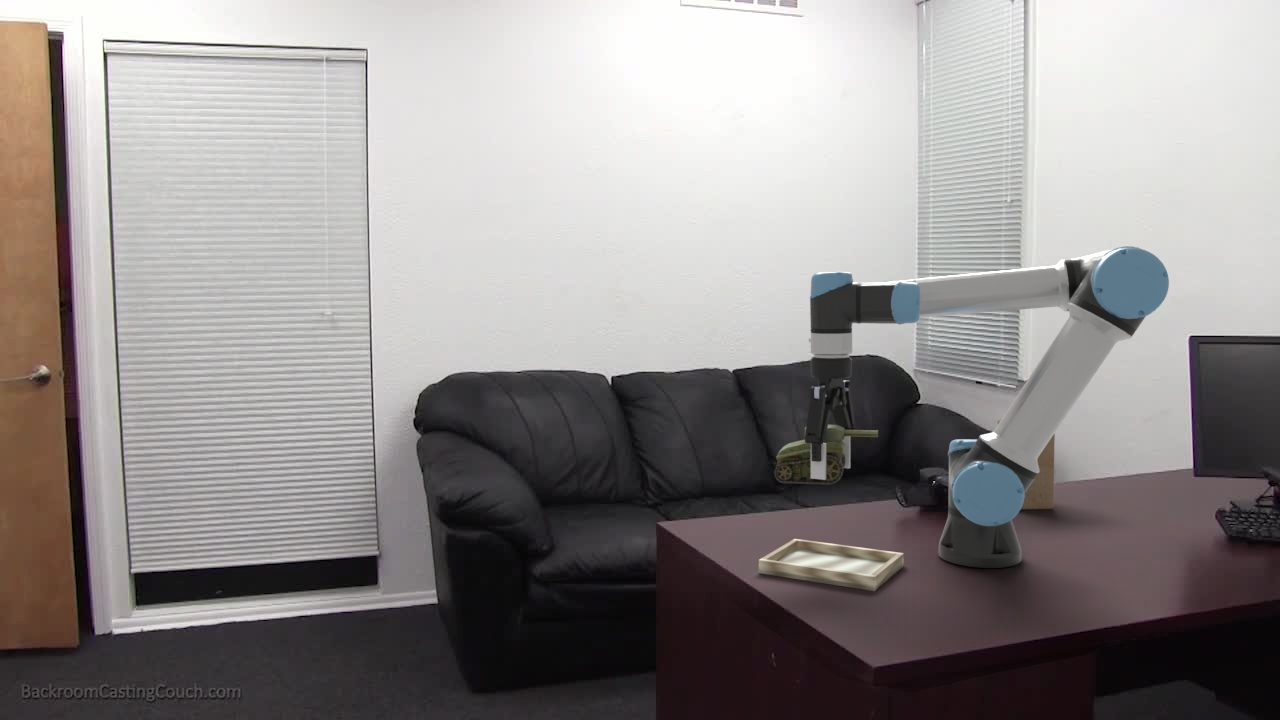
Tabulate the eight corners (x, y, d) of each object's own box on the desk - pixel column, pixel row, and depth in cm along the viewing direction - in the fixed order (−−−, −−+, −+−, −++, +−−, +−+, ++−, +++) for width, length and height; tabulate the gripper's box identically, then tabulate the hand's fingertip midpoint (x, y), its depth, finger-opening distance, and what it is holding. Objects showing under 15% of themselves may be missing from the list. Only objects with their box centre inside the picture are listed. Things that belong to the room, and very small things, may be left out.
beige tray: (903, 566, 186) (903, 553, 186) (874, 591, 172) (874, 577, 172) (794, 551, 198) (794, 538, 197) (758, 573, 183) (758, 559, 183)
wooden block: (1054, 509, 229) (1055, 424, 227) (1010, 510, 229) (1011, 424, 227) (1037, 500, 239) (1038, 417, 237) (995, 500, 239) (996, 418, 237)
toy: (877, 486, 177) (877, 431, 176) (774, 482, 182) (774, 428, 181) (878, 475, 187) (878, 423, 186) (779, 472, 191) (779, 421, 190)
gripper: (835, 350, 194) (835, 460, 196) (785, 360, 174) (785, 482, 176) (873, 352, 190) (872, 464, 192) (825, 361, 170) (825, 486, 172)
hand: (831, 473), depth 184 cm, fingers closed on toy, 11 cm apart
